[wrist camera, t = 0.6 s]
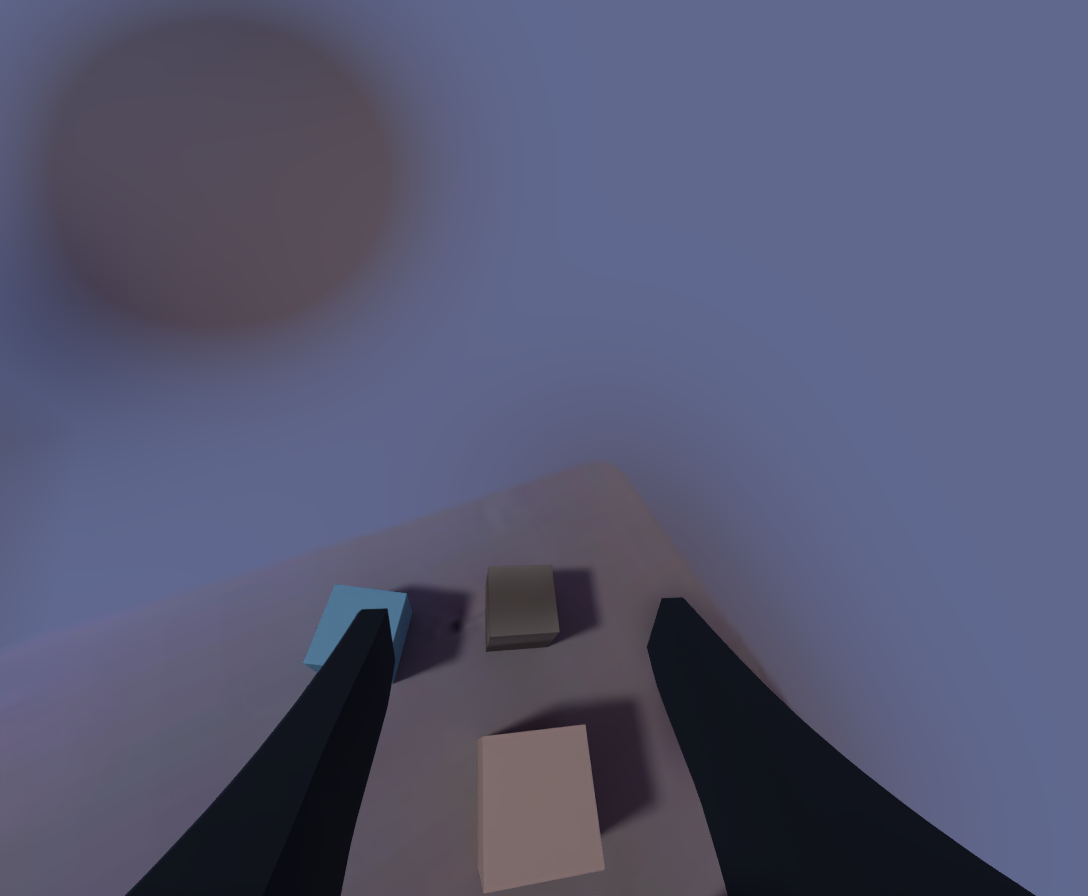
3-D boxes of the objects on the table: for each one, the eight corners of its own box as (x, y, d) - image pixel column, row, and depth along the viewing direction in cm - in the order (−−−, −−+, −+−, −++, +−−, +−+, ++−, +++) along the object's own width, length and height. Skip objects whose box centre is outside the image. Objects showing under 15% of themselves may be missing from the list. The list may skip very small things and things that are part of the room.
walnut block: (547, 647, 26) (559, 632, 23) (485, 651, 25) (489, 637, 22) (541, 586, 28) (551, 564, 25) (485, 588, 28) (488, 567, 25)
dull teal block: (393, 683, 23) (384, 672, 20) (323, 676, 23) (303, 663, 20) (412, 613, 26) (407, 593, 23) (349, 605, 25) (334, 584, 22)
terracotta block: (576, 848, 20) (605, 869, 17) (478, 866, 19) (483, 893, 16) (563, 730, 23) (585, 724, 20) (477, 740, 22) (482, 736, 19)
